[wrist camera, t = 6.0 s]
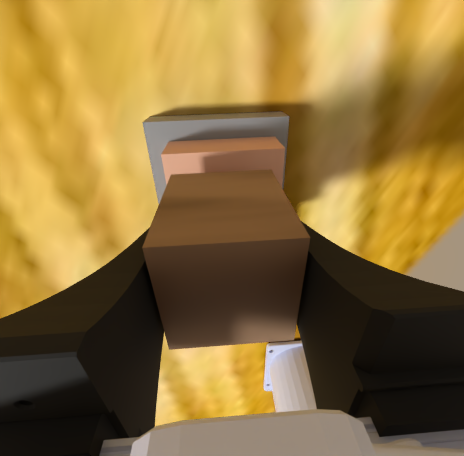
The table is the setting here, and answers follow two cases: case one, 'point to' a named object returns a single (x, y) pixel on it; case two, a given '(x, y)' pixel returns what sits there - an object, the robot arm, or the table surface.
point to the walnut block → (226, 259)
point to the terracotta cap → (224, 156)
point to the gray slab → (209, 133)
